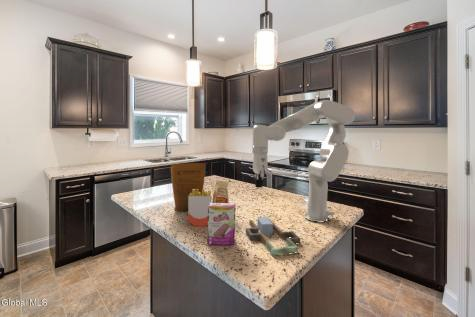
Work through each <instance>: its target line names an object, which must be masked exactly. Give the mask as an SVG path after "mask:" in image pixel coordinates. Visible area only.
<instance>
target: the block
mask: <svg viewBox="0 0 475 317" xmlns="http://www.w3.org/2000/svg"><path fill="white" fill-rule="evenodd" d="M270 220H271V219H270V218H269V217H268V216H263V217H262V216H259V217H257V224H256V226H257V227H258V228H259V233H263V234H264V236H266V235H273V232H274V231H273V223H274V222H273V221H272V220H271V221H272V222H273V223H272V222H271V221H270Z"/></svg>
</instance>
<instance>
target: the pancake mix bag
mask: <svg viewBox="0 0 475 317" xmlns="http://www.w3.org/2000/svg"><path fill="white" fill-rule="evenodd" d="M170 175H171V176H170V178H171V186H172V192H173V193H172V194H173V200H174V211H175V212H179V213H182V212H183V213H185V212H187V213H188V196H189V194H190V193H192V189H196V190H195V193H196V191H197V189H199V190H198V192H201V195H202V189H204V187H205V175H206V163H203V162H189V163H173V164H172V165H171V166H170Z"/></svg>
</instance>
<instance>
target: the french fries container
mask: <svg viewBox="0 0 475 317" xmlns="http://www.w3.org/2000/svg"><path fill="white" fill-rule="evenodd" d="M195 190H196V189H192V193H190V194H189V196H188V212H187V213H188V215H187V216H188V222H189V223H190V224H191V225H193V226H194V227H206V226H208V205H209V203H212V200H213V198H212V195H211V192H212V190H210V189H209V190H206V191H205V188H203V189H202V195H201V192H198V190H199V189H197V191H196V193H195ZM207 191H208V192H207Z"/></svg>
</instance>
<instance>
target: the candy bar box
mask: <svg viewBox="0 0 475 317" xmlns="http://www.w3.org/2000/svg"><path fill="white" fill-rule="evenodd" d="M236 206H237V205H236V203H234V202H232V203H231V202H229V203H209V205H208V224H207V238H206V239H207V246H235V240H236V239H235V238H236V234H235V232H236V208H237V207H236Z"/></svg>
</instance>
